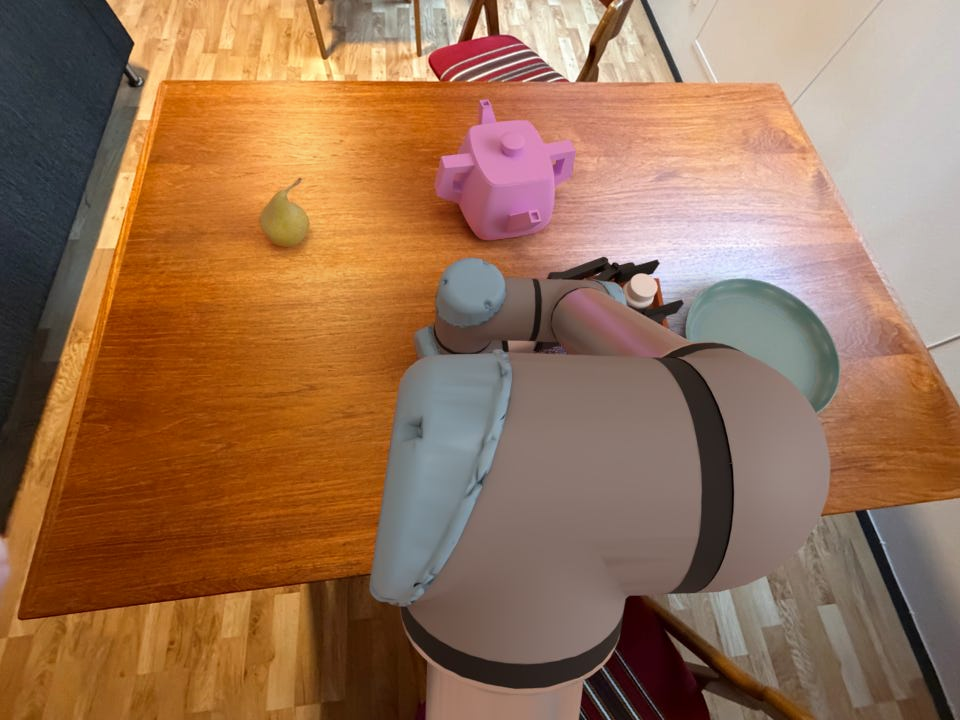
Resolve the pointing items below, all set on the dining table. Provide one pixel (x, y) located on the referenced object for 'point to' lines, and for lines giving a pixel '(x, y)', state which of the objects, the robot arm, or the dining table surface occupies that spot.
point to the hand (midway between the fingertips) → (666, 286)
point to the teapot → (504, 176)
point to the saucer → (769, 333)
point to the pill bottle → (640, 292)
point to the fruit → (284, 220)
